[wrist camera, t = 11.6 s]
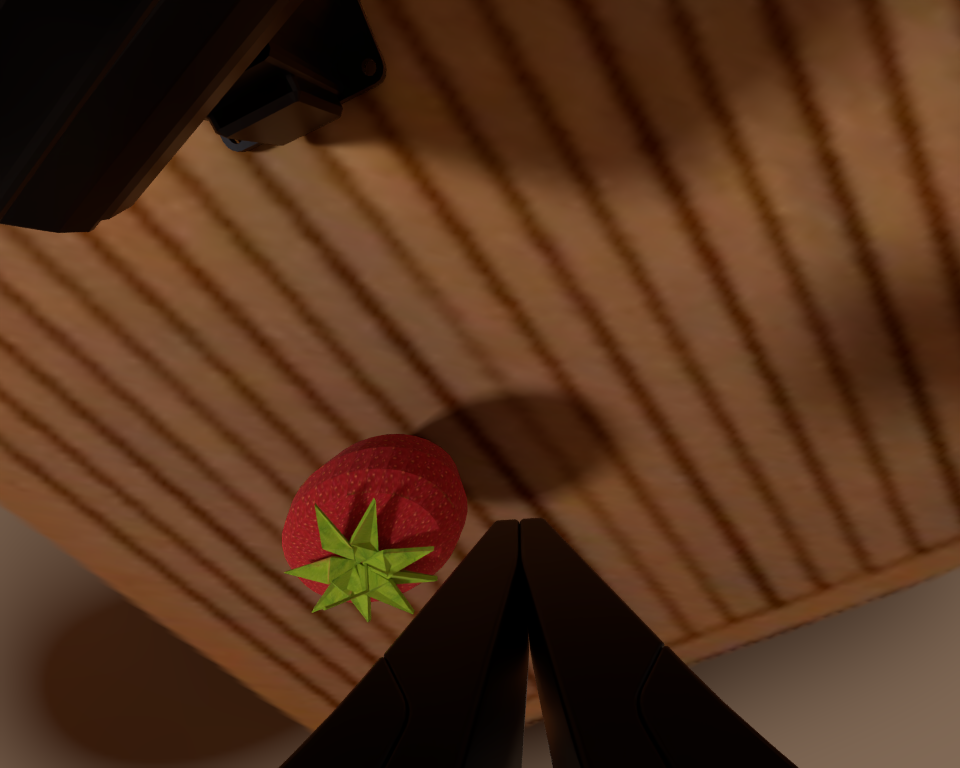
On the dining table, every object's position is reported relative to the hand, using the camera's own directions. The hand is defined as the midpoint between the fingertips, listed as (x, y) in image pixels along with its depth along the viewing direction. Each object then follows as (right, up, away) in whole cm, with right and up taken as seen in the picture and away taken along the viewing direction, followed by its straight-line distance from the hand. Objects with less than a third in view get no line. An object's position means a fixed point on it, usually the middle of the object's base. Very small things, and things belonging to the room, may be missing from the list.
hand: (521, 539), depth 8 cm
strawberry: (-4, 0, +15) cm, 16 cm away
